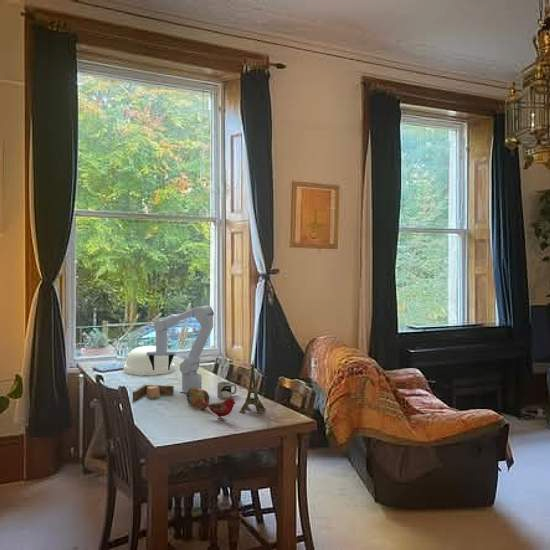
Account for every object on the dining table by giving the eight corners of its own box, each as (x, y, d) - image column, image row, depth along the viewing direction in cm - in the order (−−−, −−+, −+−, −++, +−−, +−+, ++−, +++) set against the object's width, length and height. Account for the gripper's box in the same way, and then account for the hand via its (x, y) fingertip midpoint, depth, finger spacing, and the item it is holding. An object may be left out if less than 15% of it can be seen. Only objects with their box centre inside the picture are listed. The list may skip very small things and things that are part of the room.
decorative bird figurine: (233, 423, 226) (234, 399, 226) (198, 417, 235) (198, 393, 235) (237, 421, 229) (237, 397, 229) (202, 415, 237) (203, 392, 237)
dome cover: (130, 365, 345) (130, 342, 345) (178, 365, 346) (178, 342, 346) (117, 376, 313) (117, 351, 313) (170, 376, 314) (170, 351, 314)
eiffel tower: (238, 413, 241) (238, 356, 240) (242, 407, 251) (243, 352, 250) (262, 415, 239) (262, 357, 239) (265, 408, 250) (266, 353, 249)
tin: (186, 404, 255) (186, 386, 255) (192, 403, 257) (192, 385, 257) (204, 411, 244) (204, 392, 243) (210, 410, 246) (210, 391, 245)
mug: (221, 399, 265) (221, 385, 264) (215, 396, 270) (215, 382, 270) (239, 396, 270) (239, 383, 270) (233, 393, 276) (233, 380, 275)
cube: (155, 394, 271) (155, 385, 270) (159, 396, 267) (159, 387, 267) (146, 396, 268) (146, 386, 268) (150, 398, 264) (150, 388, 264)
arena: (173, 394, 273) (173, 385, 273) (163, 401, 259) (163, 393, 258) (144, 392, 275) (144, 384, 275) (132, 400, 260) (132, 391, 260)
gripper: (146, 344, 280) (146, 371, 280) (175, 344, 282) (175, 371, 282) (147, 342, 287) (147, 368, 287) (175, 342, 289) (175, 368, 289)
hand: (161, 369), depth 285 cm, fingers open, 7 cm apart
